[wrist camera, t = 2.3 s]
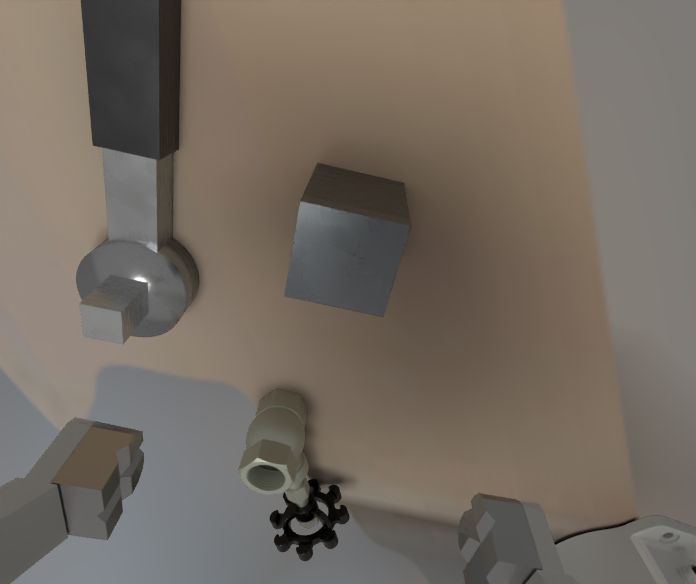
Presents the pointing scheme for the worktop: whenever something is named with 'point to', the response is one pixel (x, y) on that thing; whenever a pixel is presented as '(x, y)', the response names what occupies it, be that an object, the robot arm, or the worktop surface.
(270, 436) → the valve
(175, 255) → the ratchet
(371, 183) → the plain grey cube
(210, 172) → the worktop surface
